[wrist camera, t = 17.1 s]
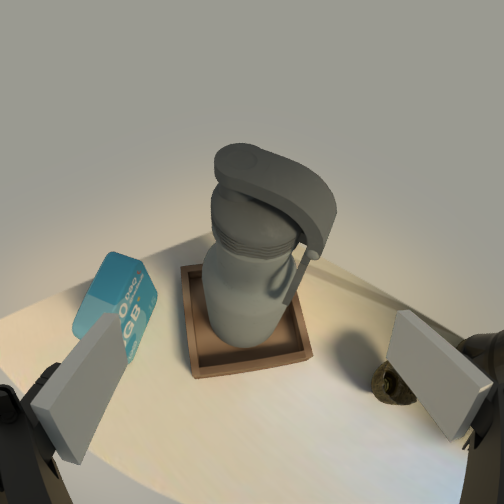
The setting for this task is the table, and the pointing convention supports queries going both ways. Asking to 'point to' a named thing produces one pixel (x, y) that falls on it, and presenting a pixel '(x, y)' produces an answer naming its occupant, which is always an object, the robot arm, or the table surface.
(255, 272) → the water bottle
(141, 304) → the data package
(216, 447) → the table surface
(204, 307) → the walnut tray
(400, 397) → the cup
